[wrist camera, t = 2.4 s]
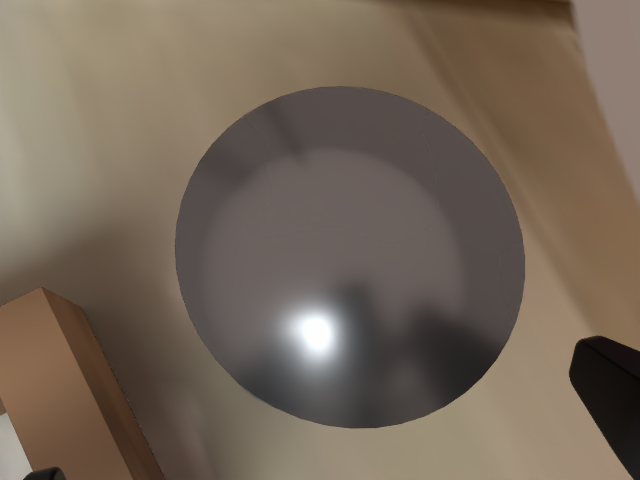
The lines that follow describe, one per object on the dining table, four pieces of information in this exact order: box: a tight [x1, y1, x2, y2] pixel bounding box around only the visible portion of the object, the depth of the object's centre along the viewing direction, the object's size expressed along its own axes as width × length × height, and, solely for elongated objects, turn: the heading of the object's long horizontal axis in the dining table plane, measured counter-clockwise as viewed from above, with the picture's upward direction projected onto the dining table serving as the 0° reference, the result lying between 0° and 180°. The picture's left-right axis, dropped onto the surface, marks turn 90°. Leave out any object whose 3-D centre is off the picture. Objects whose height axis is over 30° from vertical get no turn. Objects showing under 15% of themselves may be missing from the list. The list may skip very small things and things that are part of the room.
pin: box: [175, 86, 525, 428], centre depth 12 cm, size 4×4×13 cm
